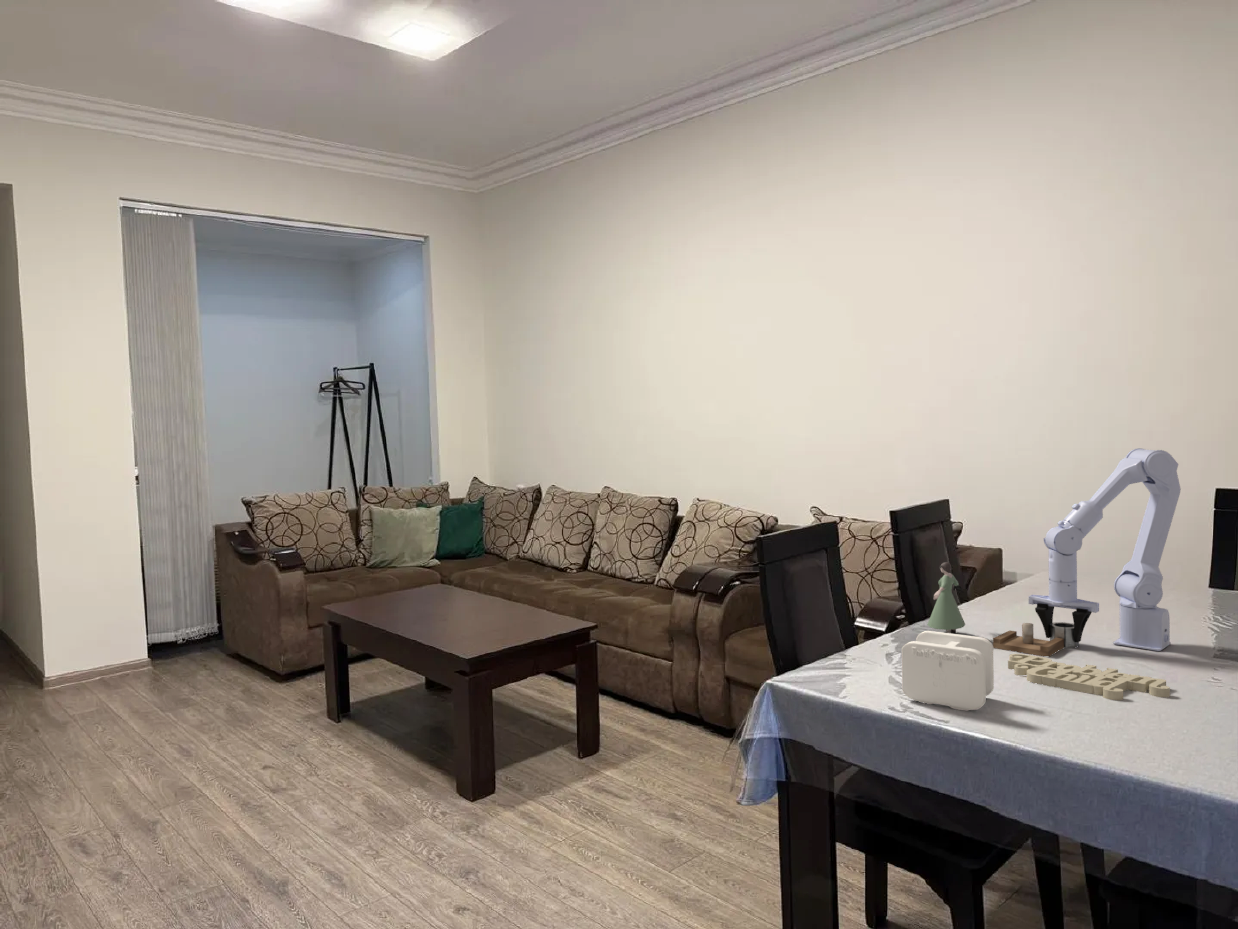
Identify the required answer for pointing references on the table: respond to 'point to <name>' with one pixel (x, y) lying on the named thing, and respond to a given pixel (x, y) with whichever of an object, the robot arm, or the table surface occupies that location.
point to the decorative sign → (1084, 677)
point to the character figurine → (946, 603)
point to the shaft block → (1027, 642)
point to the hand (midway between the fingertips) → (1063, 639)
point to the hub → (1063, 633)
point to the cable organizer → (948, 670)
